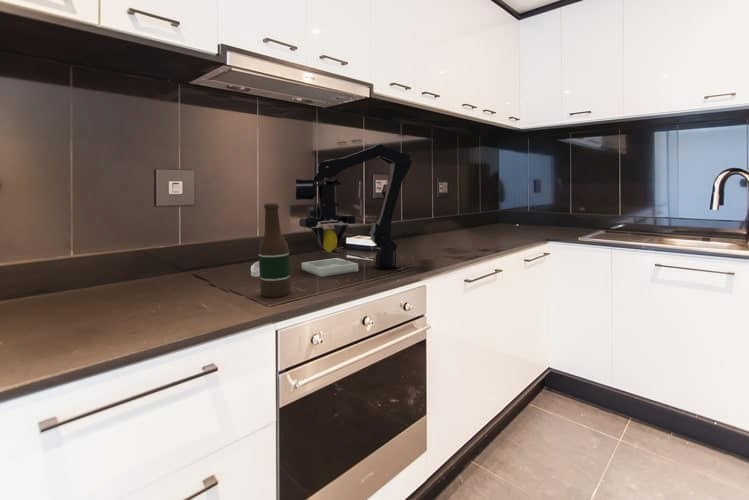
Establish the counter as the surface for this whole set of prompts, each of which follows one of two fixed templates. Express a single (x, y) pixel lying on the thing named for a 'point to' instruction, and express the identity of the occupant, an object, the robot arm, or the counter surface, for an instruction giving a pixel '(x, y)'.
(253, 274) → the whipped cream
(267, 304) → the counter surface
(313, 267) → the tray
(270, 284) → the beer bottle
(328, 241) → the lemon
